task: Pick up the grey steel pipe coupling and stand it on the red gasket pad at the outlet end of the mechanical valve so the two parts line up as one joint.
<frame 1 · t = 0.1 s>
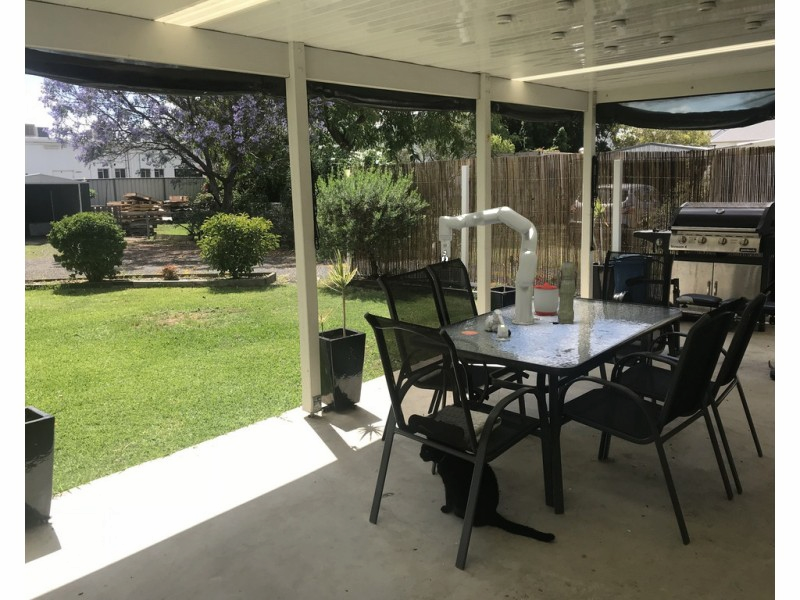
hand: (445, 267, 368), 31 cm above the table, fingers open, 9 cm apart
stone statue: (565, 323, 367), on the table
pipe coupling: (502, 340, 326), on the table
gasket pad: (469, 333, 341), on the table
mechanical valve: (499, 333, 341), on the table
citrus juicer: (546, 314, 393), on the table
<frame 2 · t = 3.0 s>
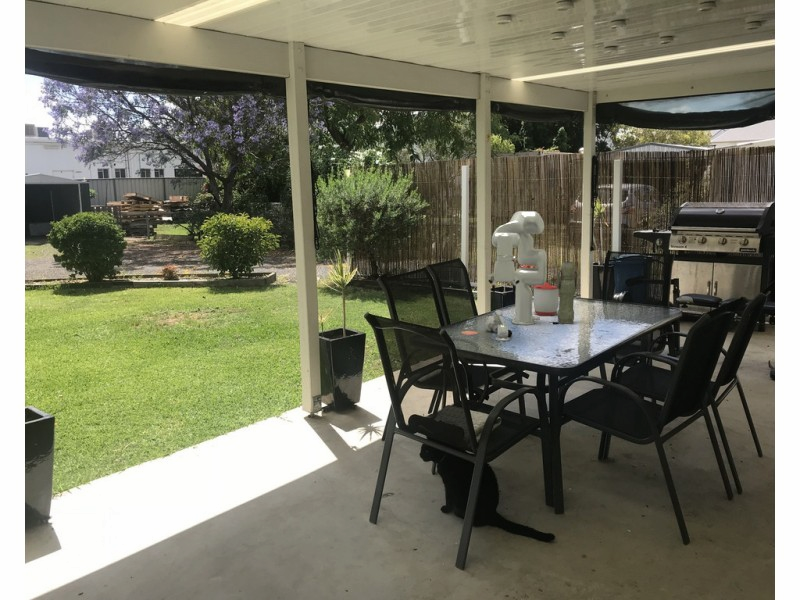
hand: (503, 293, 322), 24 cm above the table, fingers open, 9 cm apart
mechanical valve: (500, 334, 340), on the table
everything else where it was.
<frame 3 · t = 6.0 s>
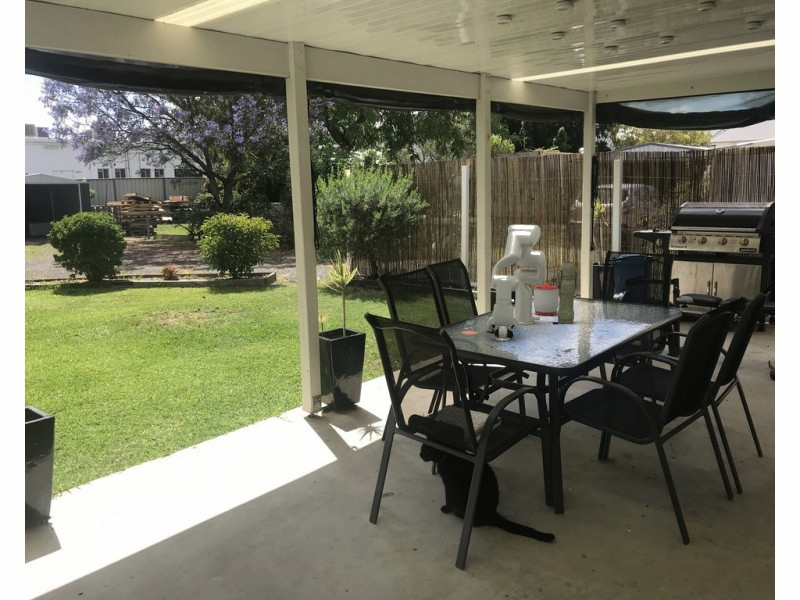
hand: (502, 337, 325), 2 cm above the table, fingers closed on pipe coupling, 5 cm apart
pipe coupling: (502, 339, 326), on the table, touching gripper
mechanical valve: (502, 334, 339), on the table
everything else where it was.
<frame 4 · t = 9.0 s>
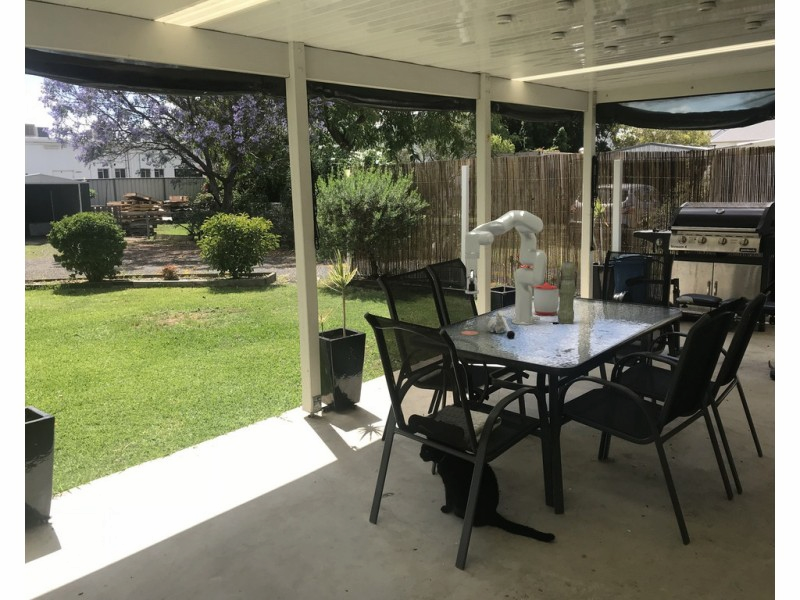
hand: (471, 290, 337), 23 cm above the table, fingers closed on pipe coupling, 5 cm apart
pipe coupling: (471, 292, 337), point 22 cm above the table, touching gripper
mechanical valve: (503, 335, 338), on the table
everything else where it was.
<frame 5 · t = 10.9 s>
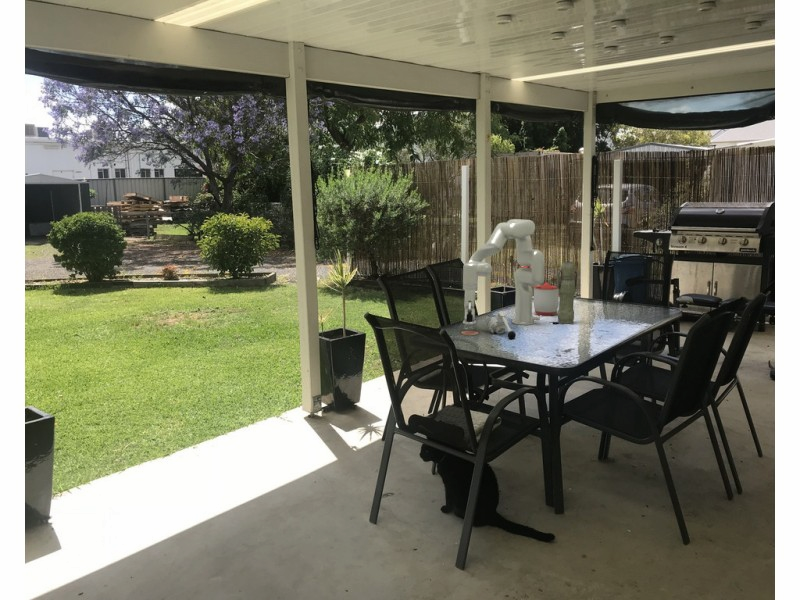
hand: (469, 320, 340), 7 cm above the table, fingers closed on pipe coupling, 5 cm apart
pipe coupling: (469, 323, 340), point 5 cm above the table, touching gripper
when the fingers open (3 cm above the table, at t = 12.3 s): pipe coupling drops 1 cm, resting on gasket pad.
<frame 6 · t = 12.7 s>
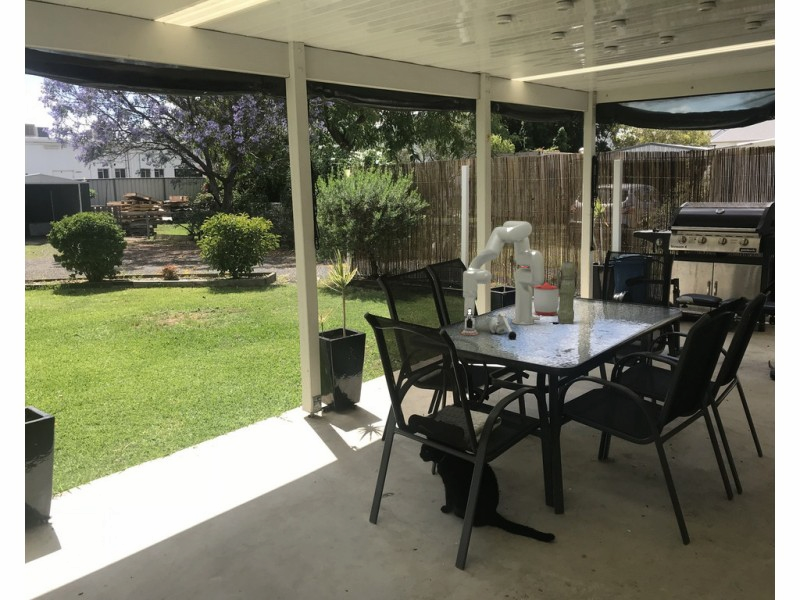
hand: (469, 326, 341), 4 cm above the table, fingers open, 9 cm apart
pipe coupling: (469, 332, 341), resting on gasket pad
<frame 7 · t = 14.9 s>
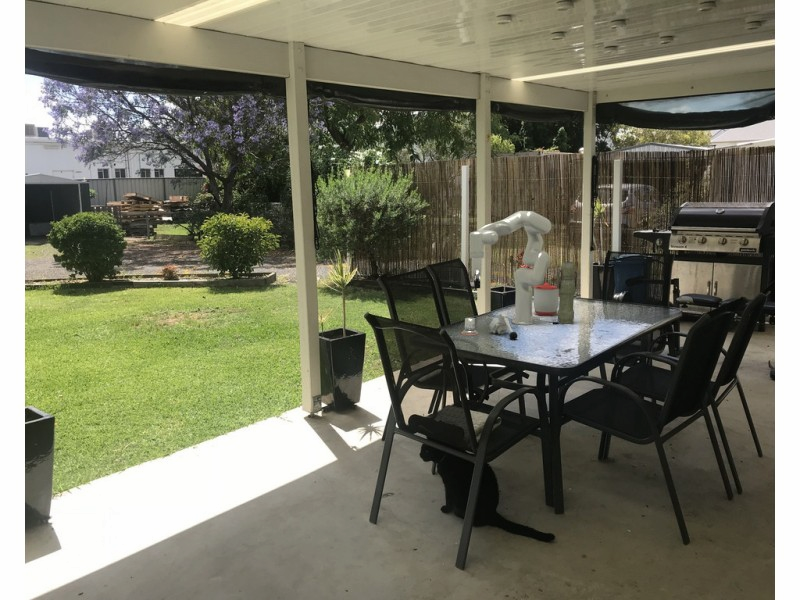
hand: (477, 286, 345), 24 cm above the table, fingers open, 9 cm apart
mechanical valve: (505, 336, 335), on the table
everything else where it was.
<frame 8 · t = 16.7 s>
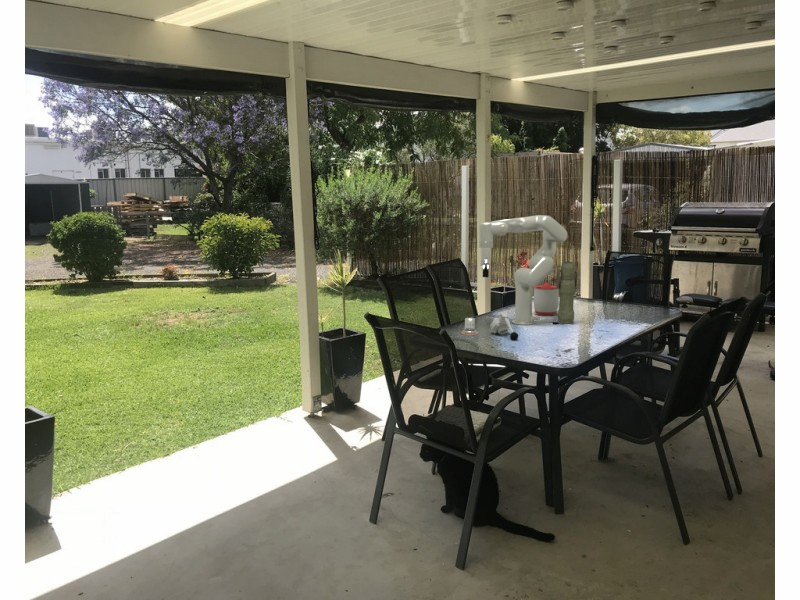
hand: (485, 276, 354), 28 cm above the table, fingers open, 9 cm apart
at the end: pipe coupling inside the target area (0.1 cm from its centre), resting on gasket pad; pipe coupling 19.8 cm from the mechanical valve (horizontally); pipe coupling tilted 0° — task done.
